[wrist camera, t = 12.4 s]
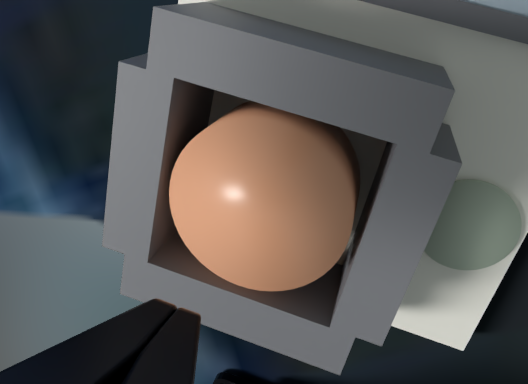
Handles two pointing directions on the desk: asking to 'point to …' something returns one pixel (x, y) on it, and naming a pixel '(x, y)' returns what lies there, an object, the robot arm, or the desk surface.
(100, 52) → the desk surface
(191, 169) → the peach rounded disc
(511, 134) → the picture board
